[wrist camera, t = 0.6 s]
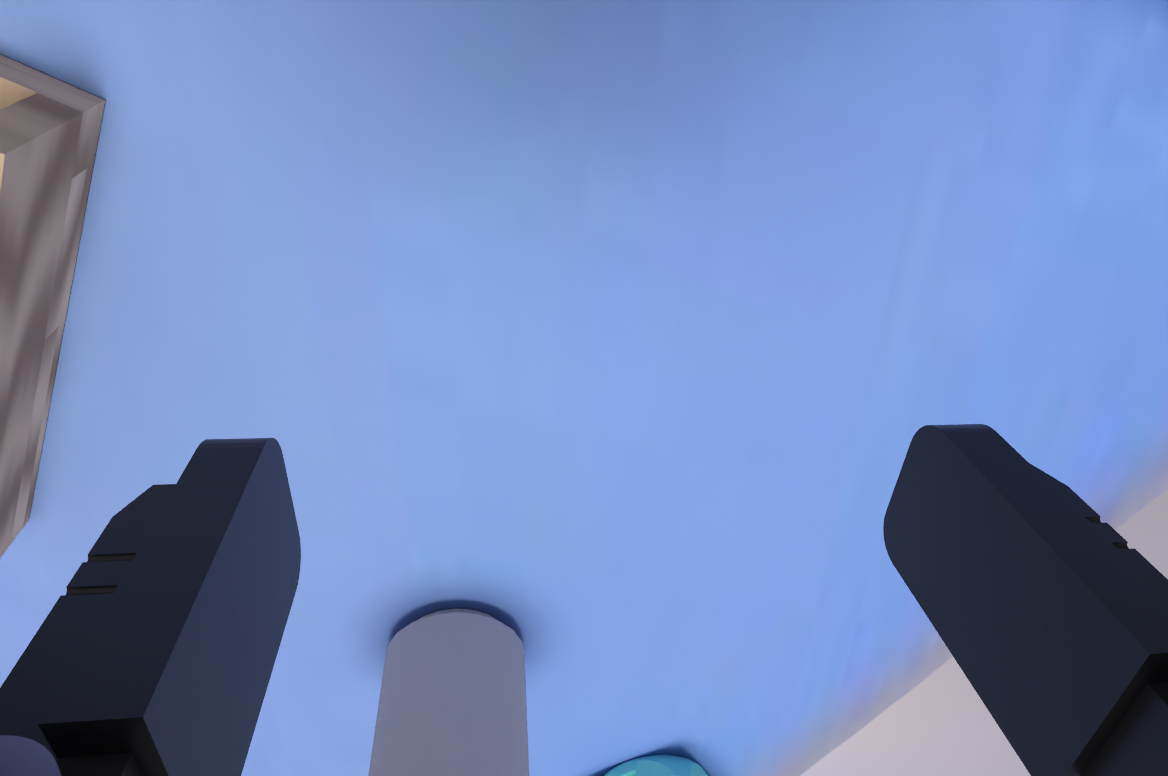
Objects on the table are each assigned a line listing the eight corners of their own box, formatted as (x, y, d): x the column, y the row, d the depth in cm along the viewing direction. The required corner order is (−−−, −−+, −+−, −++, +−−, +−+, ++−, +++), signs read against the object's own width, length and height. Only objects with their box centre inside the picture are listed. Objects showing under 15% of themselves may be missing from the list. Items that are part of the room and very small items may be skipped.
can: (408, 586, 37) (377, 838, 27) (543, 612, 39) (560, 853, 29) (372, 671, 41) (333, 920, 31) (497, 691, 43) (498, 928, 33)
